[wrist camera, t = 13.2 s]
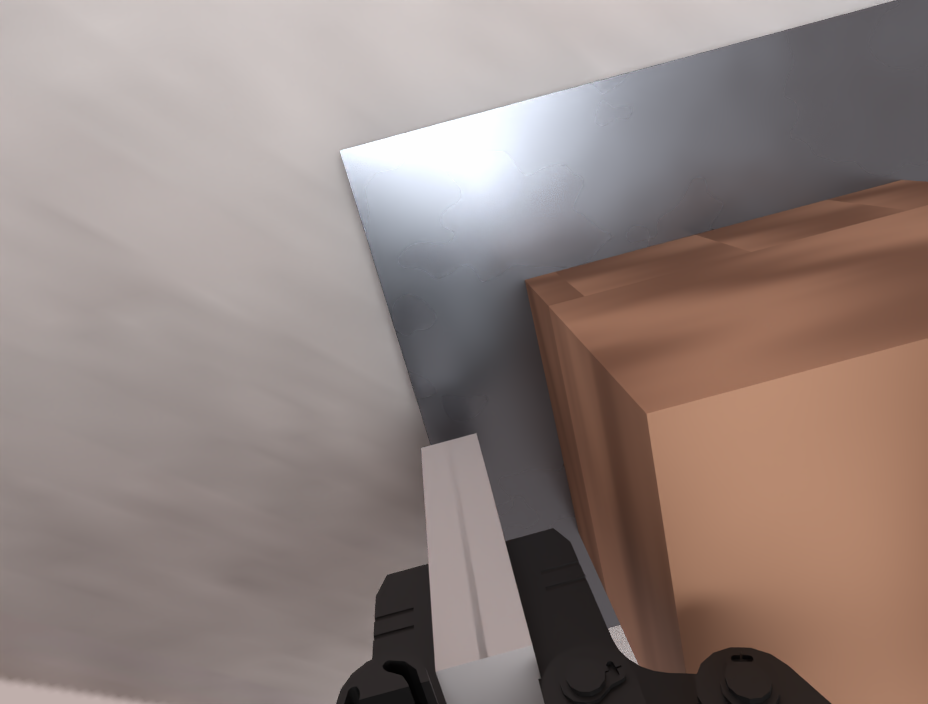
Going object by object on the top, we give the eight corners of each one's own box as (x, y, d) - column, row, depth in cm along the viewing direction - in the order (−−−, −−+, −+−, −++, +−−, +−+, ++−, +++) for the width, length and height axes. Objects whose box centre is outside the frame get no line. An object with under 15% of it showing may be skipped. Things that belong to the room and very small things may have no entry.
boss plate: (491, 630, 20) (508, 718, 17) (344, 150, 15) (329, 151, 12) (968, 497, 20) (1070, 560, 17) (997, -27, 15) (1152, -71, 12)
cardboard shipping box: (578, 533, 18) (708, 816, 10) (524, 279, 15) (647, 413, 8) (898, 447, 18) (1255, 664, 10) (902, 179, 15) (1388, 214, 8)
